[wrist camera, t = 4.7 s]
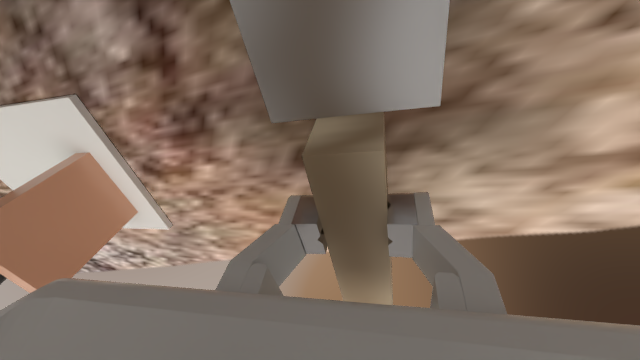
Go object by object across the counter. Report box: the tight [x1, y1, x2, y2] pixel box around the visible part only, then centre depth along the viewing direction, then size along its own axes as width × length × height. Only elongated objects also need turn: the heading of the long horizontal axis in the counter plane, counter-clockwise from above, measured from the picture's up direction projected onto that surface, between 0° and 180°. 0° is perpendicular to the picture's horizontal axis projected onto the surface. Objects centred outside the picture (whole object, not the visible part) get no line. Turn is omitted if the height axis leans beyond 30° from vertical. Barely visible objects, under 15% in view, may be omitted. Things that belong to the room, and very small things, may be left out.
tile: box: [0, 152, 138, 293], centre depth 21 cm, size 7×2×9 cm, turn 11°
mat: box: [0, 94, 172, 229], centre depth 25 cm, size 14×17×1 cm
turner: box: [230, 0, 450, 305], centre depth 10 cm, size 6×17×3 cm, turn 11°
